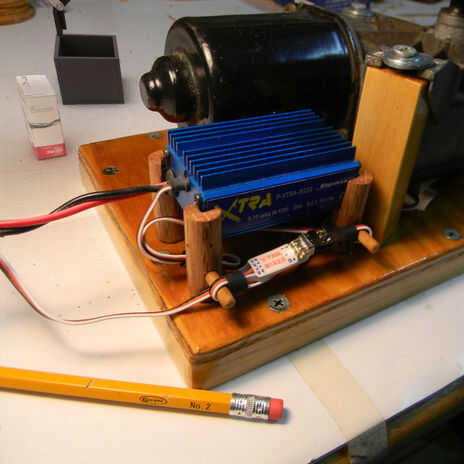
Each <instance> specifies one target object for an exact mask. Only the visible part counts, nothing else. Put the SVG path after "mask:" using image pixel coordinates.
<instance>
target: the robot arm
mask: <svg viewBox="0 0 464 464" xmlns="http://www.w3.org/2000/svg"><path fill="white" fill-rule="evenodd" d="M71 1H72V0H47V2H49V3H50V4H51V5H52V17H53V21H54V26H55V27H54V28H55V31H56V33H57V36H59V37H63V34H64V31H67V30H68V27H67V21H66V15H65V10H64V9H65V8H66V6H67V5H68V4H69V3H70V2H71Z"/></svg>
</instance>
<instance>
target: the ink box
mask: <svg viewBox="0 0 464 464" xmlns="http://www.w3.org/2000/svg"><path fill="white" fill-rule="evenodd" d="M14 79H15V83H16V84H15V85H16V88H17V92H18V97H19V101H20V106H21V110H22V114H23V115H22V116H23V119H24V123H25V128H26V129H25V130H26V132H27V138H28V140H29V142H30V145H31V146H32V149H33V151H34V153H35V156H36V158H37V160H43V159H44V160H45V159H47V158H55V157H61V156H67V149H66V143H65V137H64V132H63V125H62V121H61V120H62V119H61V113H60V109H59V102H58V97H57V93H56V92H55V90H54V88H53V86H52V84H51V83H50V81H49V79H48V77H47V75H46V74H23V75H17V76H15V78H14Z"/></svg>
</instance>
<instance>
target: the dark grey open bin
mask: <svg viewBox="0 0 464 464" xmlns="http://www.w3.org/2000/svg"><path fill="white" fill-rule="evenodd" d="M53 64H54V68H55V73H56V79H57V82H58V88H59V93H60V97H61V103H62V105H99V104H100V105H109V104H110V105H115V104H120V105H121V104H125V96H124V87H123V86H124V85H123V78H122V69H121V61H120V52H119V46H118V39H117V35H116V34H95V33H94V34H92V33H89V34H88V33H63V37H59V36H57V32H56V33H55V41H54V48H53Z"/></svg>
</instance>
